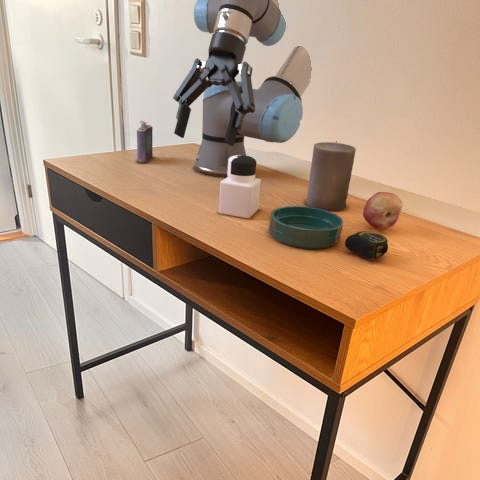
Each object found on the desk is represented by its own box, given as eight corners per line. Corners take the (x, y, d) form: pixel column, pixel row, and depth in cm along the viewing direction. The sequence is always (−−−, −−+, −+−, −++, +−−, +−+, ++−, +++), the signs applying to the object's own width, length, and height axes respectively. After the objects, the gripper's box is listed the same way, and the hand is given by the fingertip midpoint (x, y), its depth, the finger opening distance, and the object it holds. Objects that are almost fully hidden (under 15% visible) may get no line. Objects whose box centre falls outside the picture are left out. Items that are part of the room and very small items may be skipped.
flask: (144, 164, 140) (143, 124, 135) (134, 162, 140) (133, 123, 135) (154, 157, 148) (153, 119, 143) (144, 156, 148) (143, 118, 143)
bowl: (289, 219, 108) (292, 201, 106) (350, 236, 102) (354, 217, 100) (255, 236, 97) (257, 217, 95) (320, 256, 91) (324, 236, 89)
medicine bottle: (258, 210, 112) (263, 156, 106) (248, 219, 106) (253, 162, 100) (229, 204, 114) (232, 151, 107) (218, 213, 108) (220, 157, 102)
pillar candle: (353, 208, 118) (366, 144, 110) (322, 213, 113) (333, 145, 106) (327, 197, 125) (338, 135, 117) (297, 200, 120) (305, 136, 113)
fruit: (359, 231, 104) (366, 194, 100) (361, 220, 111) (368, 185, 107) (396, 237, 103) (405, 200, 99) (396, 226, 109) (405, 190, 105)
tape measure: (341, 251, 94) (344, 233, 92) (365, 245, 97) (369, 227, 96) (367, 265, 89) (371, 245, 87) (392, 258, 93) (397, 239, 91)
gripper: (173, 28, 106) (149, 126, 109) (273, 31, 95) (242, 141, 97) (193, 46, 113) (169, 138, 116) (288, 51, 101) (259, 153, 104)
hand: (203, 139), depth 106 cm, fingers open, 13 cm apart
